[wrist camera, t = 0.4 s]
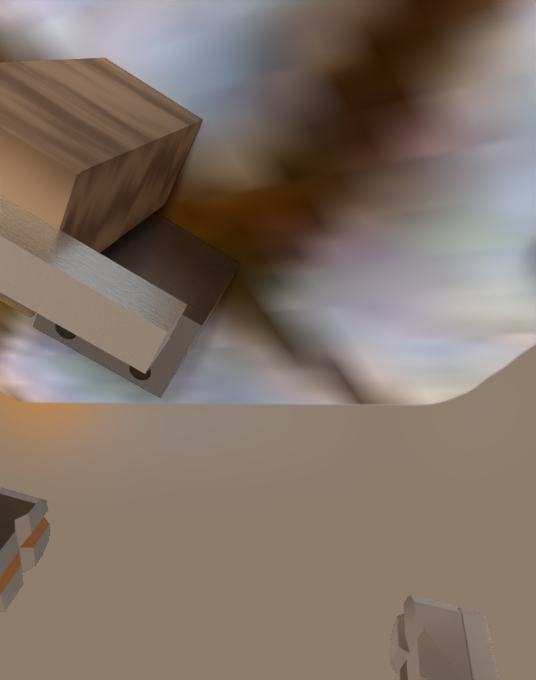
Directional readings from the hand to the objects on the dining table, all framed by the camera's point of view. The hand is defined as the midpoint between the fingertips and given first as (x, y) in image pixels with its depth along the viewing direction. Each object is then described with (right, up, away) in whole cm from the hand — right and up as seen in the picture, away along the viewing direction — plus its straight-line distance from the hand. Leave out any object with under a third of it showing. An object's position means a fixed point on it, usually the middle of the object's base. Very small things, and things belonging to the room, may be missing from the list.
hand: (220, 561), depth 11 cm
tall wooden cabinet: (-13, +26, +41) cm, 51 cm away
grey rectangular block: (-13, +11, +20) cm, 26 cm away
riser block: (-10, +14, +48) cm, 51 cm away
